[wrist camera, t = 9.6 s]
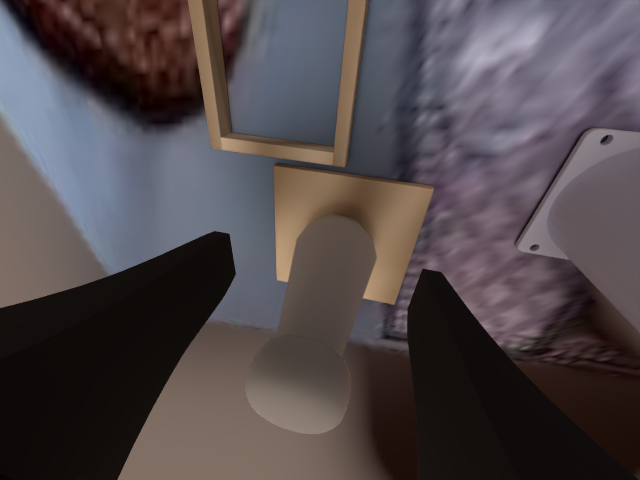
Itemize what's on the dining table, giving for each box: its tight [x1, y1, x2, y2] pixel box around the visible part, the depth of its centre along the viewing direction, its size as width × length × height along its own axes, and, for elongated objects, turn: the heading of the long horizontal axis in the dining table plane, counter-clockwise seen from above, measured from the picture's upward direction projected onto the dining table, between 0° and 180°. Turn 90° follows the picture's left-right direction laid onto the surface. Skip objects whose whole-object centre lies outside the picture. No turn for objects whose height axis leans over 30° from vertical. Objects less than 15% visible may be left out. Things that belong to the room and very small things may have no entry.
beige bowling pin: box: [245, 214, 377, 434], centre depth 15 cm, size 6×6×13 cm
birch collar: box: [188, 0, 369, 167], centre depth 15 cm, size 9×9×2 cm
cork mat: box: [274, 163, 434, 305], centre depth 21 cm, size 11×11×1 cm
